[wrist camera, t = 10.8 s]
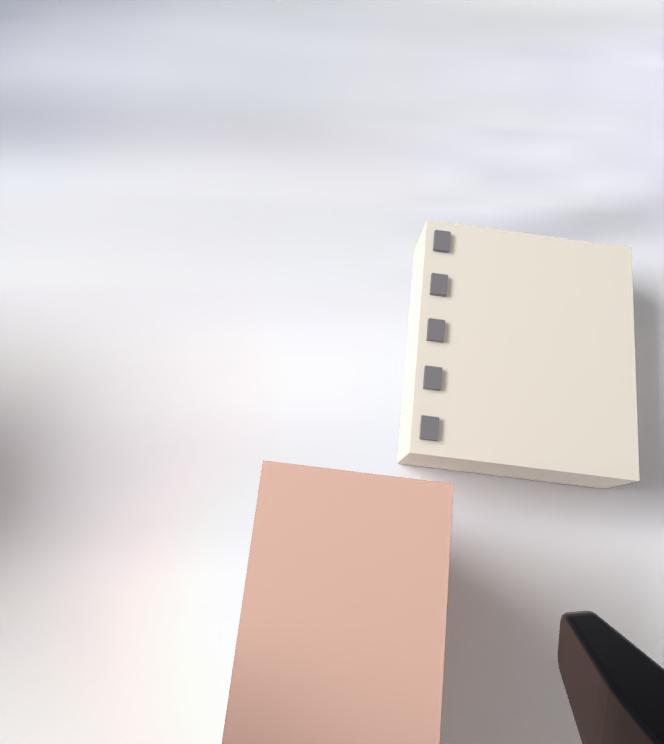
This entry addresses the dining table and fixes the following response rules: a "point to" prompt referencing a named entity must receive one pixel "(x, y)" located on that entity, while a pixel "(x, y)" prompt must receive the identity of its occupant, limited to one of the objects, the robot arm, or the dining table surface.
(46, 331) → the dining table surface
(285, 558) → the pink rectangular block
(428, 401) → the board
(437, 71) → the dining table surface
